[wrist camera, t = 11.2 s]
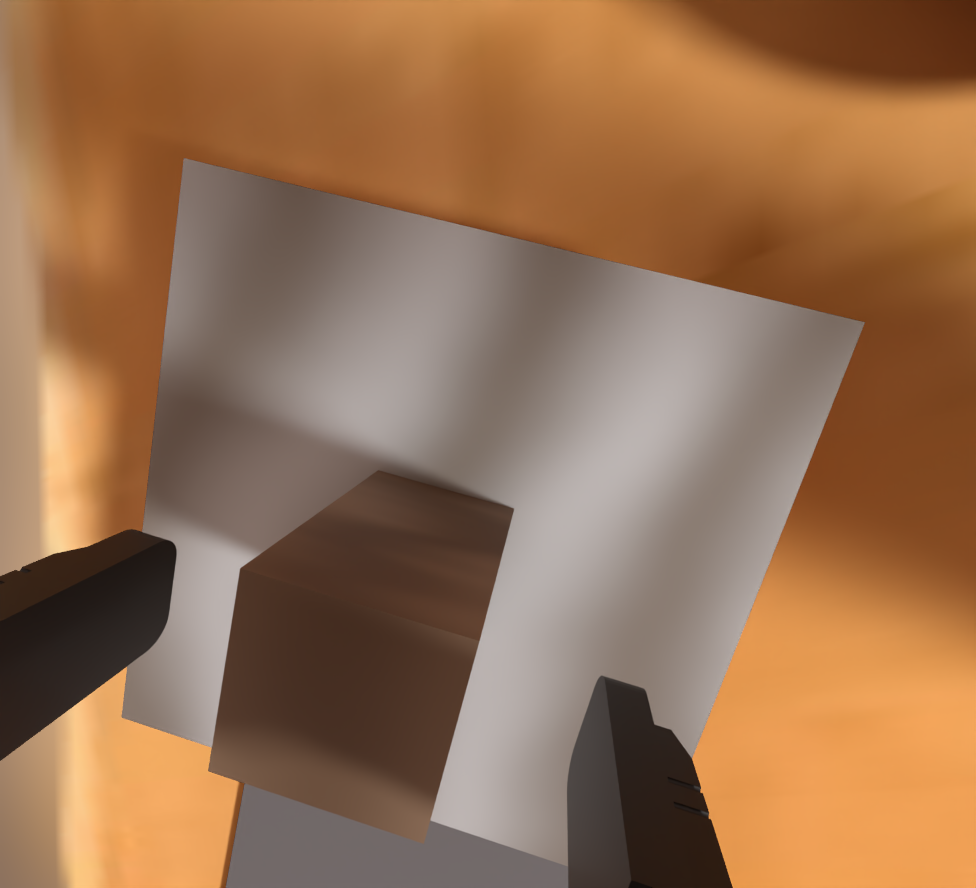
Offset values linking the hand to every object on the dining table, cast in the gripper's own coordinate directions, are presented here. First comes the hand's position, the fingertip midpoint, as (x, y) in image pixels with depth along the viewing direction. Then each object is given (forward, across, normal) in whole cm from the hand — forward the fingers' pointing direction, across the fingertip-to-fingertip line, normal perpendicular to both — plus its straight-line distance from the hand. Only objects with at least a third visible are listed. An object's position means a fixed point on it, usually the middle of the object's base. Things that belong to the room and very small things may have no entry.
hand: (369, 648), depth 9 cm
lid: (+5, 0, 0) cm, 5 cm away
